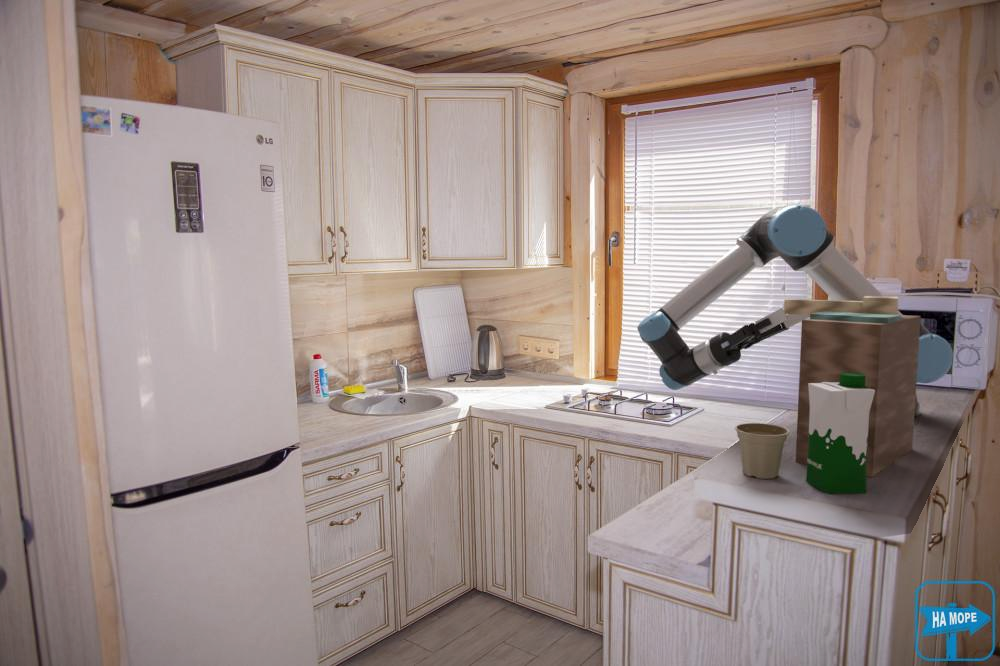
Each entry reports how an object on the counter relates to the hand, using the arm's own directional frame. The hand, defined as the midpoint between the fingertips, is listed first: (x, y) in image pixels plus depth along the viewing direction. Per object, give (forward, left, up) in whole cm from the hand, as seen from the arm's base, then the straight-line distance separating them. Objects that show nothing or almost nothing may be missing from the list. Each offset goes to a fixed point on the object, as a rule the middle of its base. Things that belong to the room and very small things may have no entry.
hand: (798, 311), depth 155 cm
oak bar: (-3, +8, 0) cm, 9 cm away
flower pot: (+23, +20, -28) cm, 42 cm away
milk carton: (+15, +30, -28) cm, 44 cm away
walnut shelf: (-3, +15, -28) cm, 32 cm away
